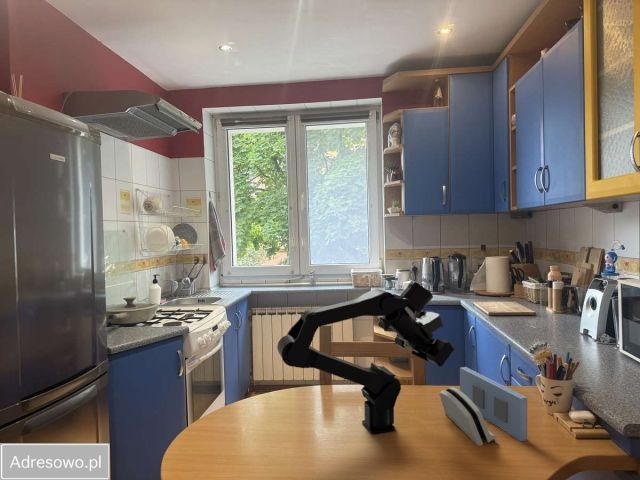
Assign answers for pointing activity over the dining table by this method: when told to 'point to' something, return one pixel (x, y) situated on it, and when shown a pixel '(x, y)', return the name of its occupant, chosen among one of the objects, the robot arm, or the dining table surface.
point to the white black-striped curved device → (466, 415)
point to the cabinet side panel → (496, 402)
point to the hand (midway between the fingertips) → (440, 364)
